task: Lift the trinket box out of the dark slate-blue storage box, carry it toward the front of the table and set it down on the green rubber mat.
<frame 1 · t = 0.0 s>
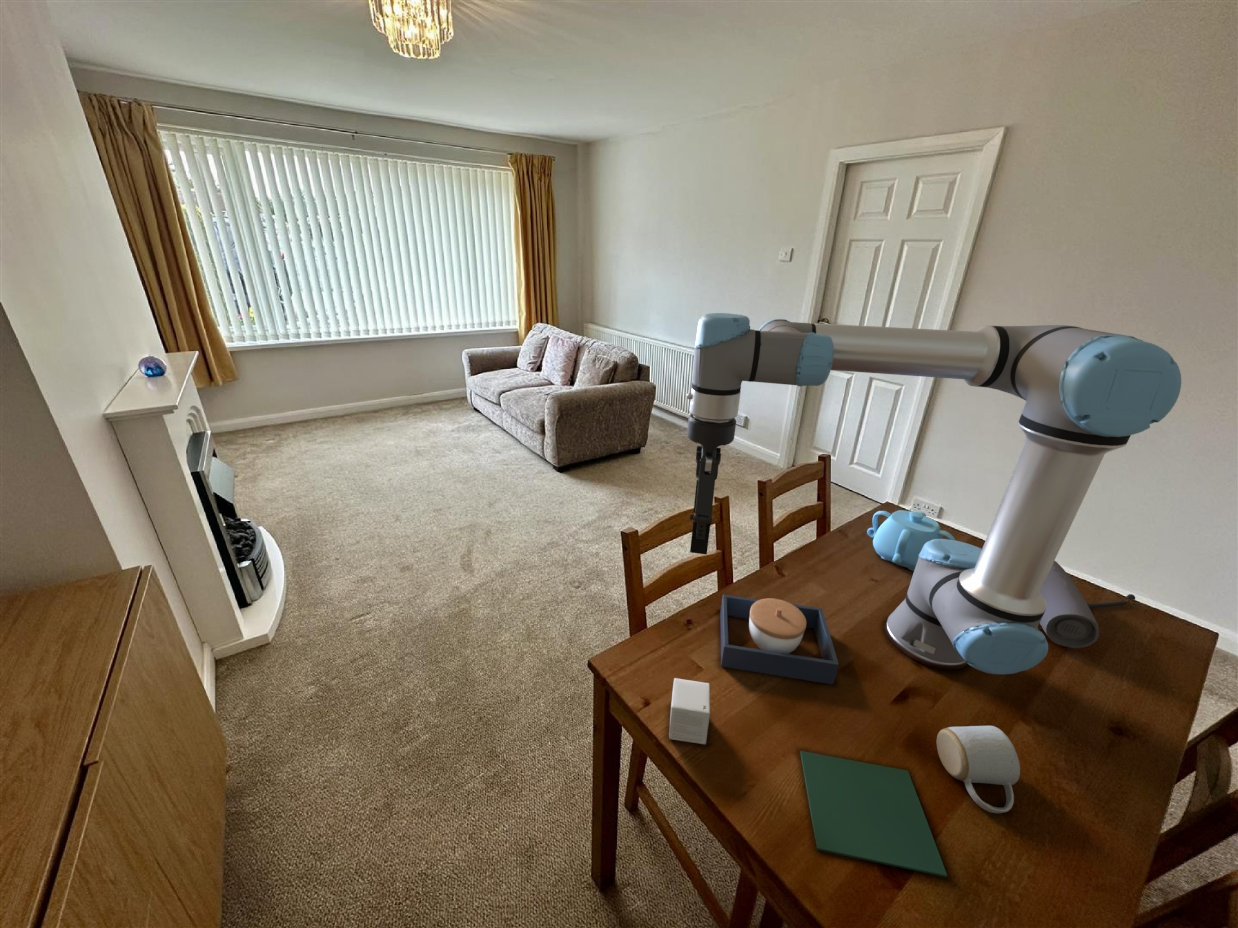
hand: (699, 531, 85), 28 cm above the table, tool pointing down, fingers open, 13 cm apart
bluetooth speaker: (1044, 618, 108), on the table
mat: (865, 808, 69), on the table
trinket box: (771, 646, 98), resting in storage box
product box: (687, 726, 81), on the table
storage box: (771, 645, 98), on the table
decorative pot: (902, 558, 129), on the table
ceramic mug: (974, 779, 74), on the table
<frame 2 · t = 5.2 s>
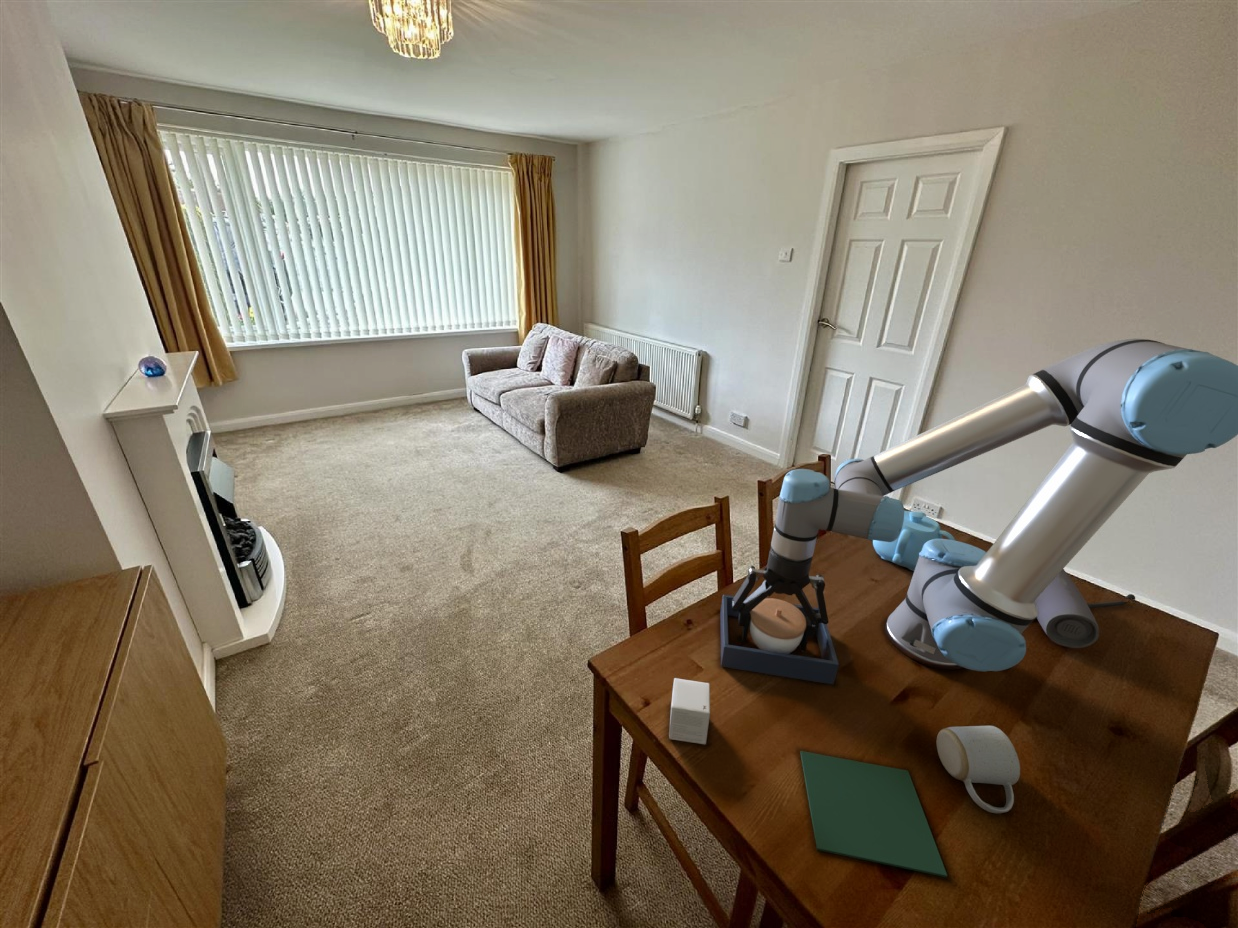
hand: (772, 641, 98), 1 cm above the table, tool pointing down, fingers closed on trinket box, 11 cm apart
trinket box: (771, 646, 98), resting in storage box, touching gripper
everything else where it was.
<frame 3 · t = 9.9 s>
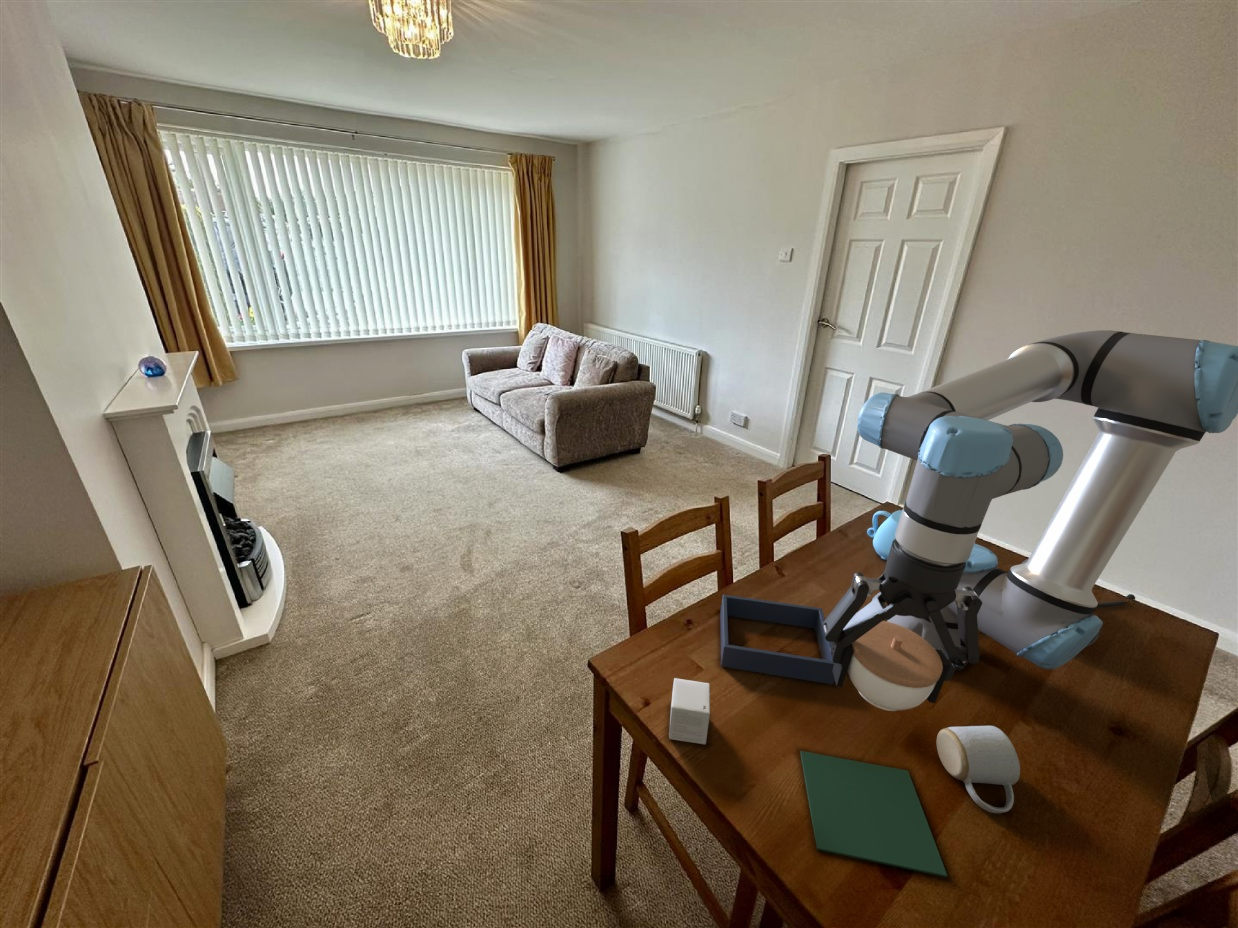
hand: (881, 686, 65), 20 cm above the table, tool pointing down, fingers closed on trinket box, 11 cm apart
trinket box: (879, 692, 65), point 19 cm above the table, touching gripper
everything else where it was.
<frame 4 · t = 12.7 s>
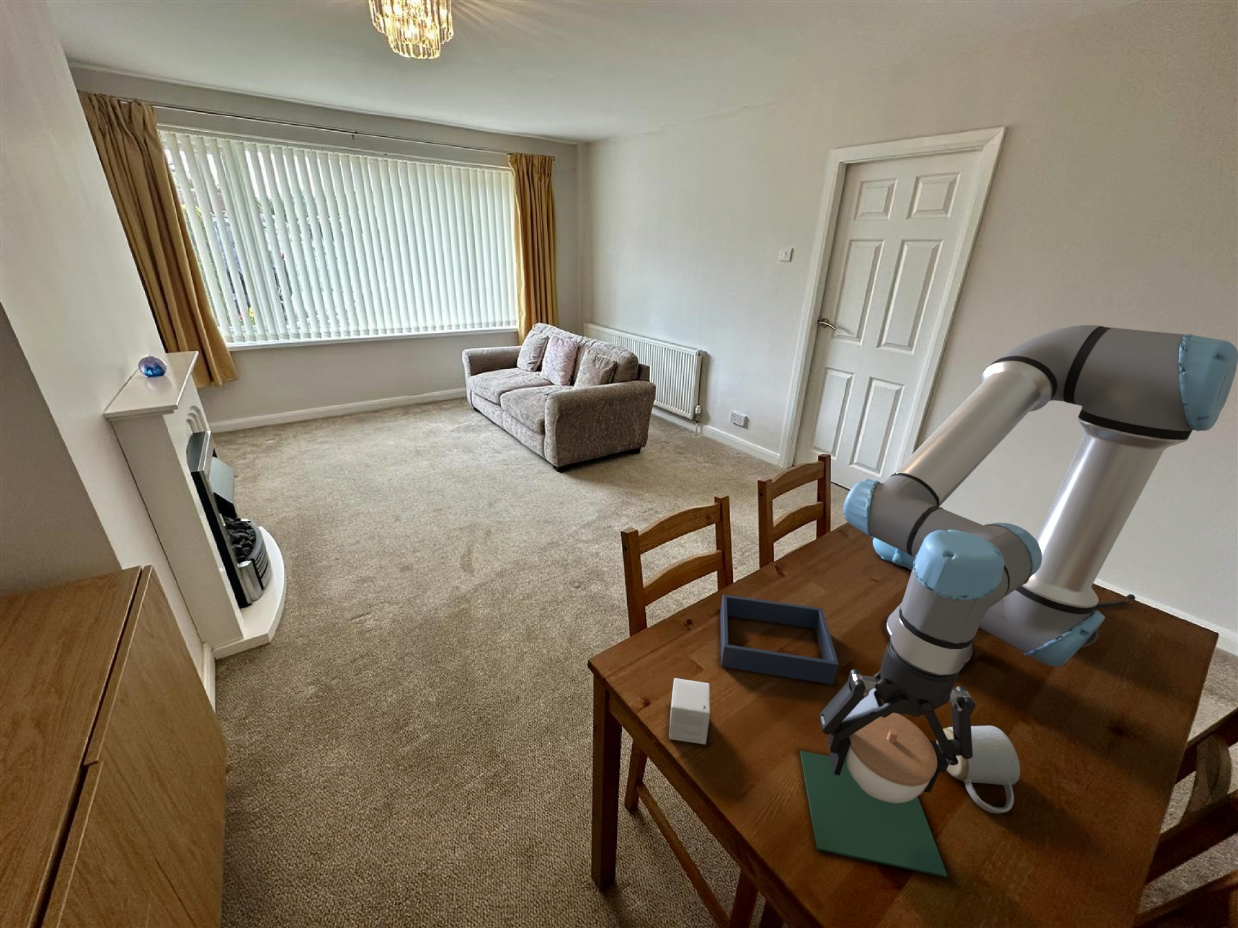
hand: (878, 773, 66), 8 cm above the table, tool pointing down, fingers closed on trinket box, 11 cm apart
trinket box: (876, 779, 67), point 6 cm above the table, touching gripper
everything else where it was.
when the fingers open (1 cm above the table, at t = 14.7 s): trinket box stays where it is, resting on mat.
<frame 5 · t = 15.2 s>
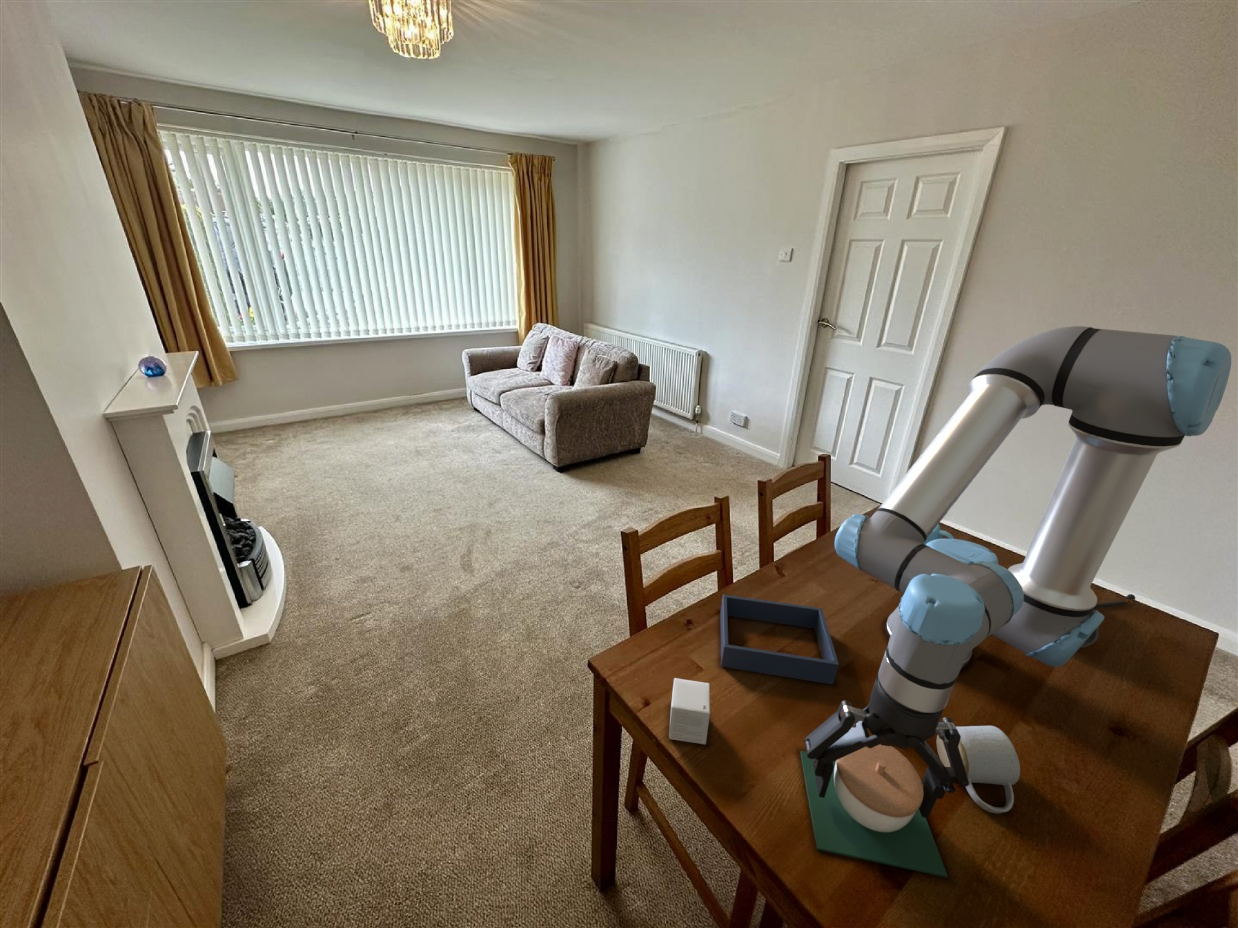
hand: (869, 797, 68), 2 cm above the table, tool pointing down, fingers open, 13 cm apart
trinket box: (865, 807, 69), resting on mat
everything else where it was.
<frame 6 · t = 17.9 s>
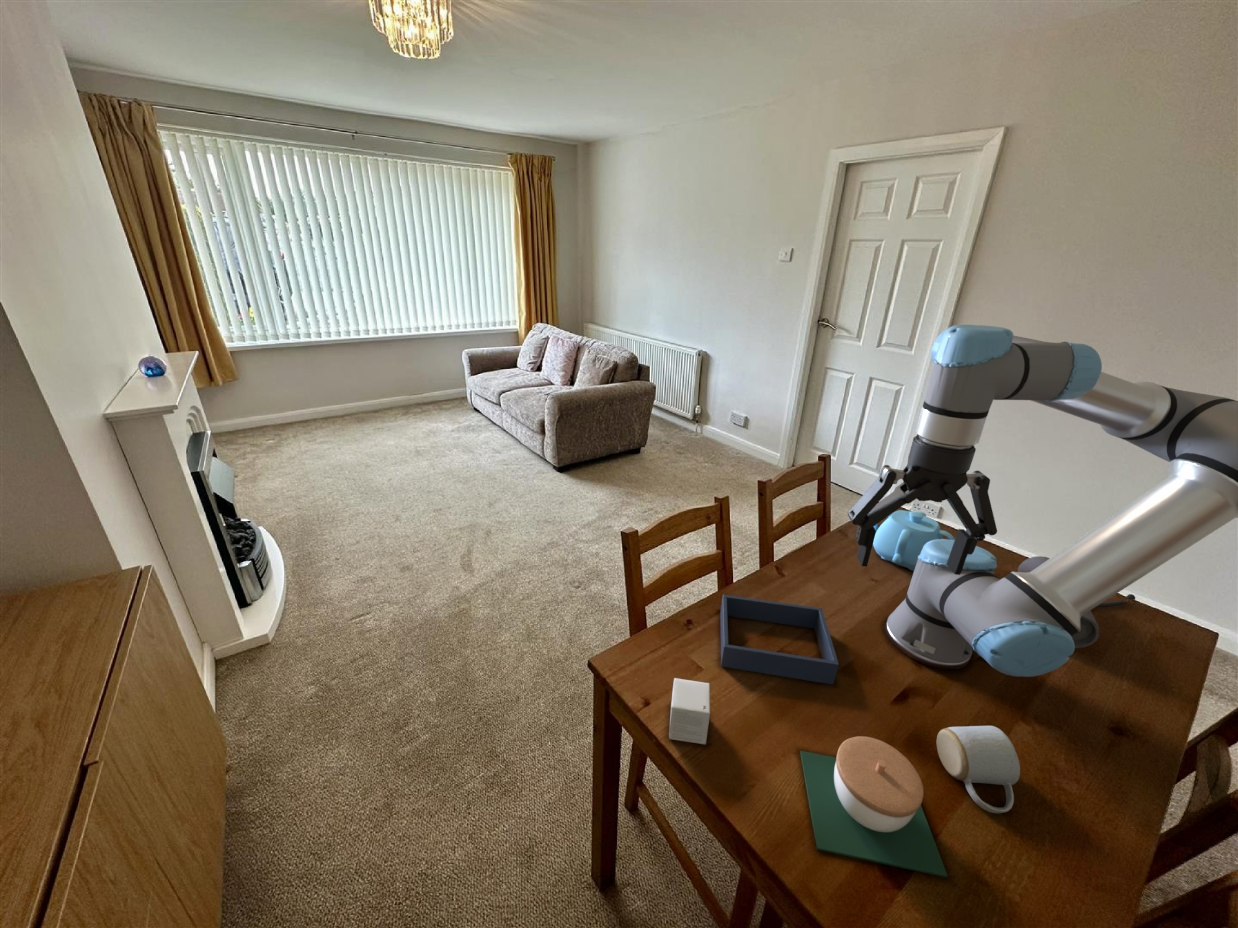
hand: (906, 565, 76), 28 cm above the table, tool pointing down, fingers open, 13 cm apart
nothing on the table moved.
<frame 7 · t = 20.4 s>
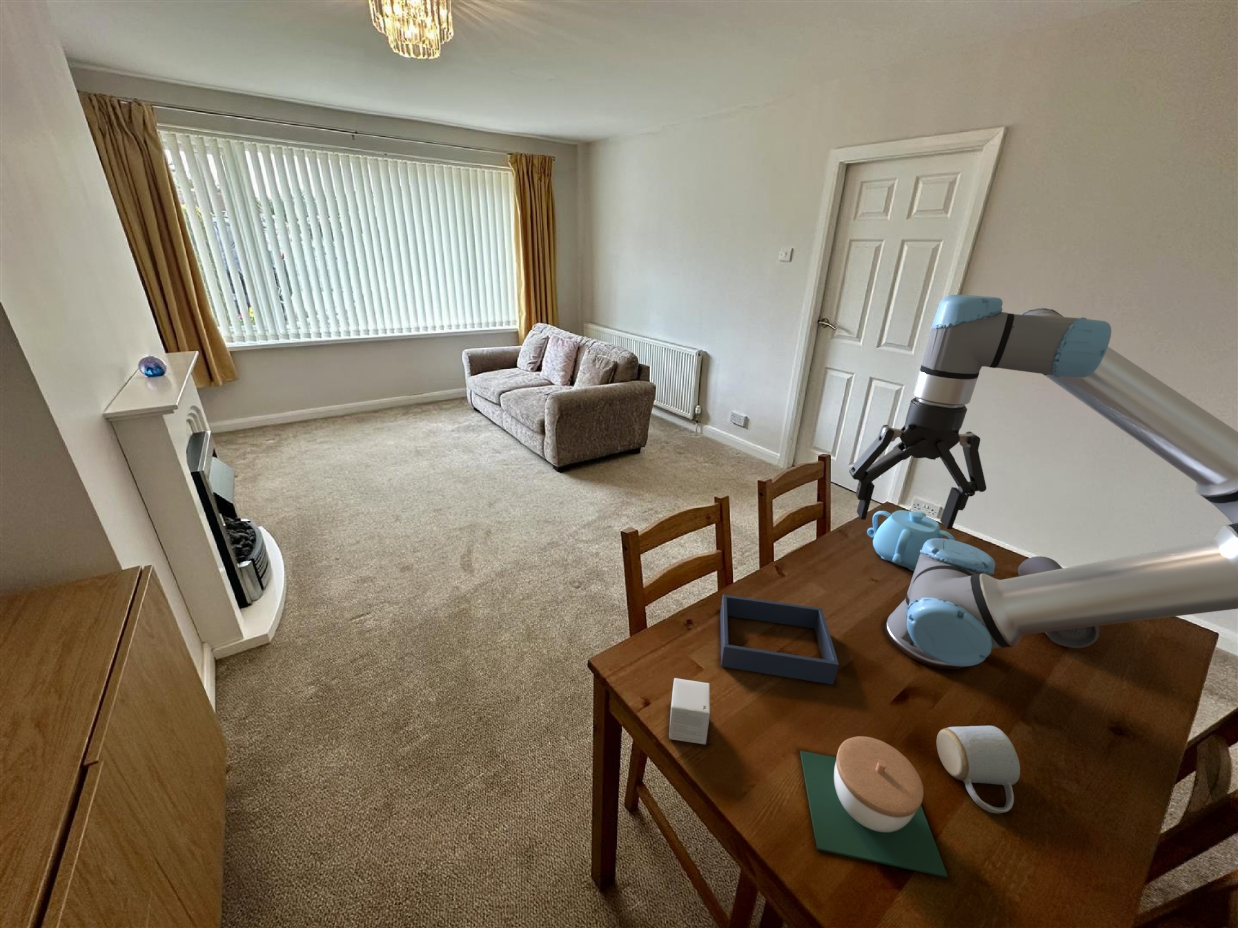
hand: (902, 520, 83), 32 cm above the table, tool pointing down, fingers open, 13 cm apart
nothing on the table moved.
at the end: trinket box inside the target area on the mat (0.0 cm from its centre), point 0.2 cm above the mat's base; trinket box tilted 0°; the gripper is holding nothing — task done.
